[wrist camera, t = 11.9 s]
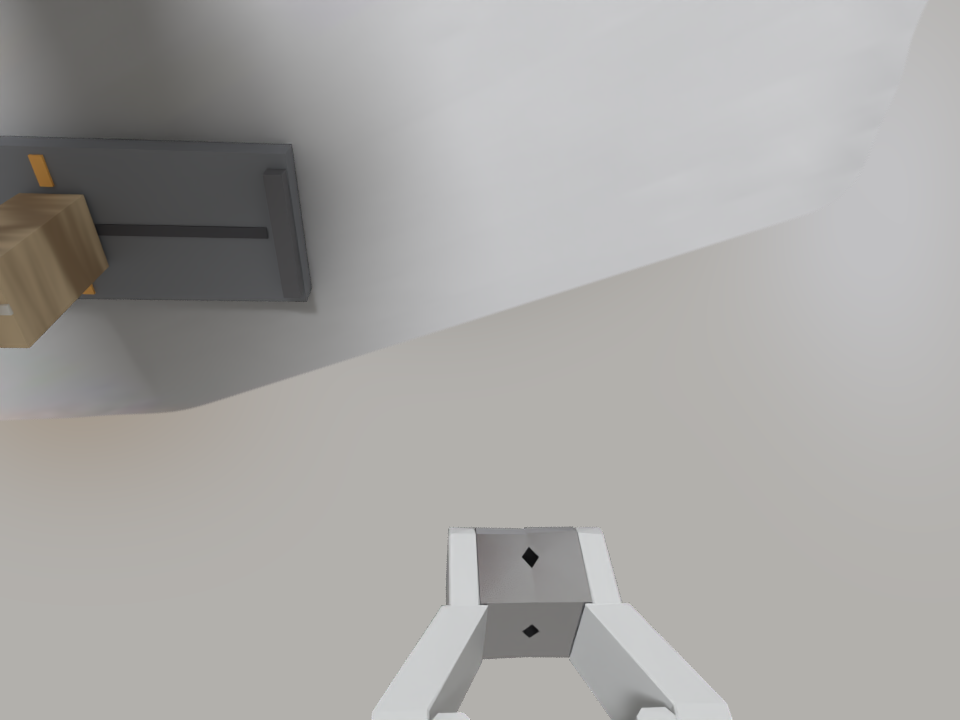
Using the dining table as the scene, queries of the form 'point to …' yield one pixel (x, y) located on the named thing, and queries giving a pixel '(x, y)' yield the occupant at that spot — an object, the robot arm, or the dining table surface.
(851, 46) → the dining table surface
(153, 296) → the fader track
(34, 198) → the fader knob
